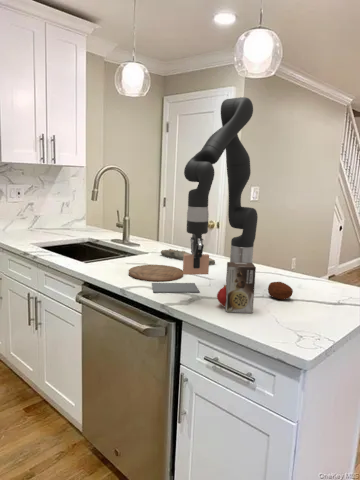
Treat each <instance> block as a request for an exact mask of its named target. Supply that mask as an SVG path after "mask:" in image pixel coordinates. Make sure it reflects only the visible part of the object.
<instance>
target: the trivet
mask: <svg viewBox="0 0 360 480" xmlns="http://www.w3.org/2000/svg"><path fill="white" fill-rule="evenodd" d="M128 276H129V277H130V278H132V279H134V280H138V281H142V282H151V283H168V282H174V281H177V280H180V279H182V278H183V277H184V274H183V269H181V268H179V267H176V266H173V265H165V264H142V265H137V266H133V267H131V268H129V269H128Z"/></svg>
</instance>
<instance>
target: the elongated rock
mask: <svg viewBox="0 0 360 480" xmlns="http://www.w3.org/2000/svg"><path fill="white" fill-rule="evenodd" d="M160 254H161V256H163V257H166V258H170V259H172V260H173V259H174V260H179V261H183V254H191V252H187V251H186V250H178V249H177V250H176V249H172V248H169V249H162V250H161V251H160ZM215 264H216V261H215V260H214V259H213V258H211V257H209V266H215Z"/></svg>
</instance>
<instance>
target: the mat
mask: <svg viewBox="0 0 360 480" xmlns="http://www.w3.org/2000/svg"><path fill="white" fill-rule="evenodd" d="M151 287H152V292H153V294H200V293H201V292H200V289H199V287H198V286H197V285H196V283H195V282H151Z"/></svg>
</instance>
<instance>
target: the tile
mask: <svg viewBox="0 0 360 480" xmlns="http://www.w3.org/2000/svg"><path fill="white" fill-rule="evenodd" d="M209 258H210V254H209V253H208V254H207V253H202V257H201V258H200V268H194V267H193V264H194V257H193V254H192V253H190V254H183V260H182V261H183V262H182V265H183V266H182V270H183V276H184V275H185V276H187V275H196V276H197V275H209V270H210V265H209Z"/></svg>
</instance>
